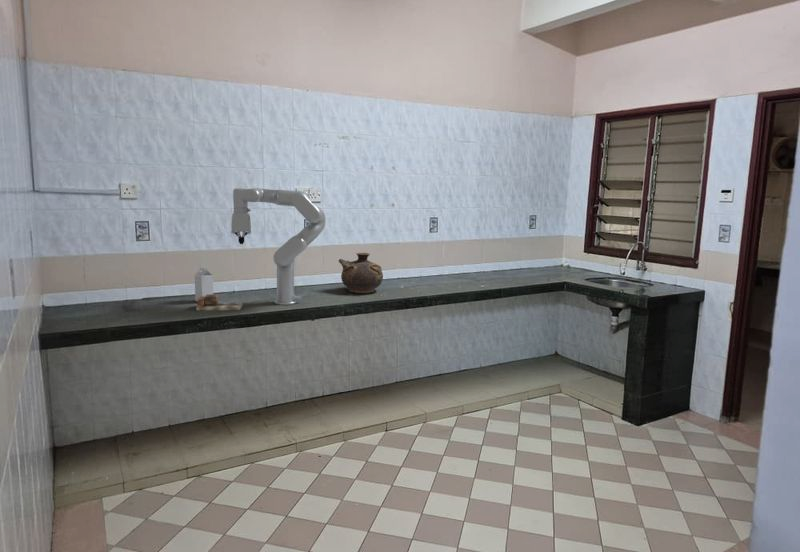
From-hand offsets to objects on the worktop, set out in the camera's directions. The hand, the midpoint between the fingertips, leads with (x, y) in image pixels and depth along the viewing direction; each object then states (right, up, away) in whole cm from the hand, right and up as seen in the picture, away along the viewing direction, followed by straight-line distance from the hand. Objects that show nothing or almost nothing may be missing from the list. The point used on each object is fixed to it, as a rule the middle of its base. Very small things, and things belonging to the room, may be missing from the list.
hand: (241, 244), depth 302 cm
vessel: (+64, -28, +47) cm, 84 cm away
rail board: (-8, -35, -11) cm, 38 cm away
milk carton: (-22, -32, +3) cm, 39 cm away
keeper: (-12, -33, -12) cm, 38 cm away
